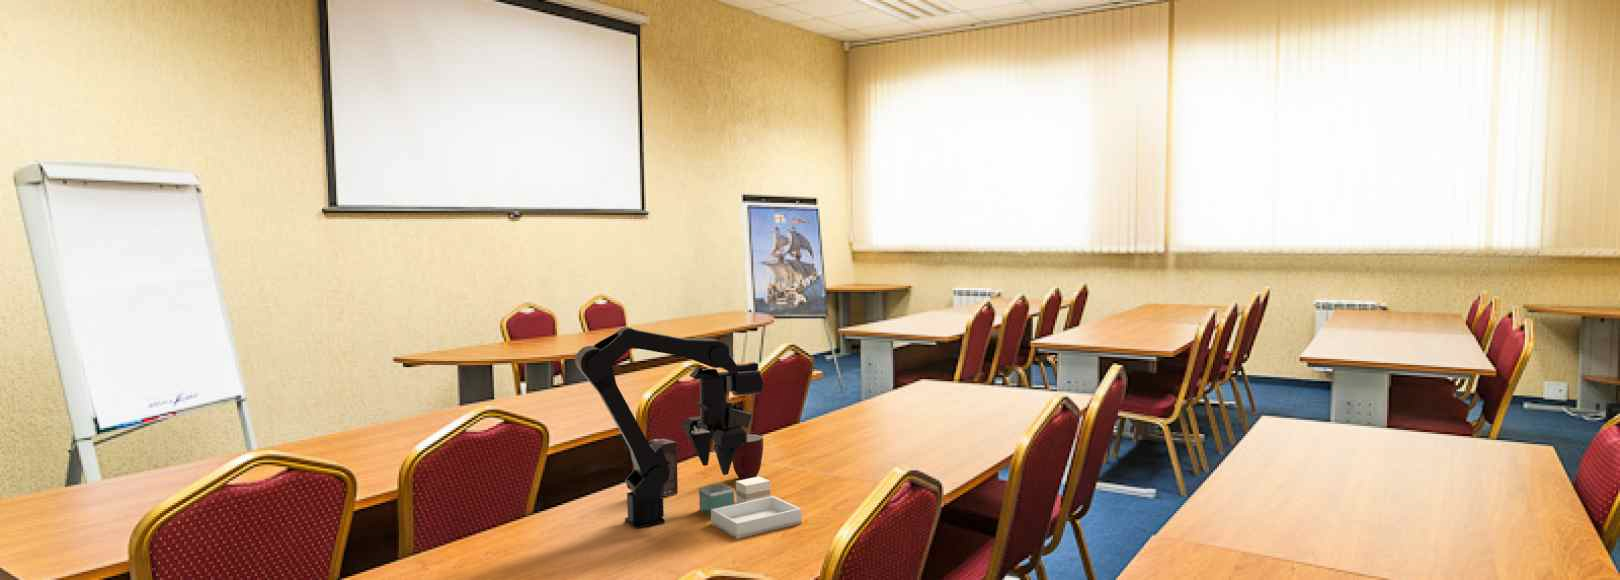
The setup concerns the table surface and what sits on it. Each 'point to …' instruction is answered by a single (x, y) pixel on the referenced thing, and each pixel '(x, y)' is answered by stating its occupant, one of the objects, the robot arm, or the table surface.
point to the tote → (756, 516)
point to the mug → (748, 457)
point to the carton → (752, 489)
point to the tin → (715, 497)
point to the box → (671, 456)
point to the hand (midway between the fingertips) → (715, 469)
